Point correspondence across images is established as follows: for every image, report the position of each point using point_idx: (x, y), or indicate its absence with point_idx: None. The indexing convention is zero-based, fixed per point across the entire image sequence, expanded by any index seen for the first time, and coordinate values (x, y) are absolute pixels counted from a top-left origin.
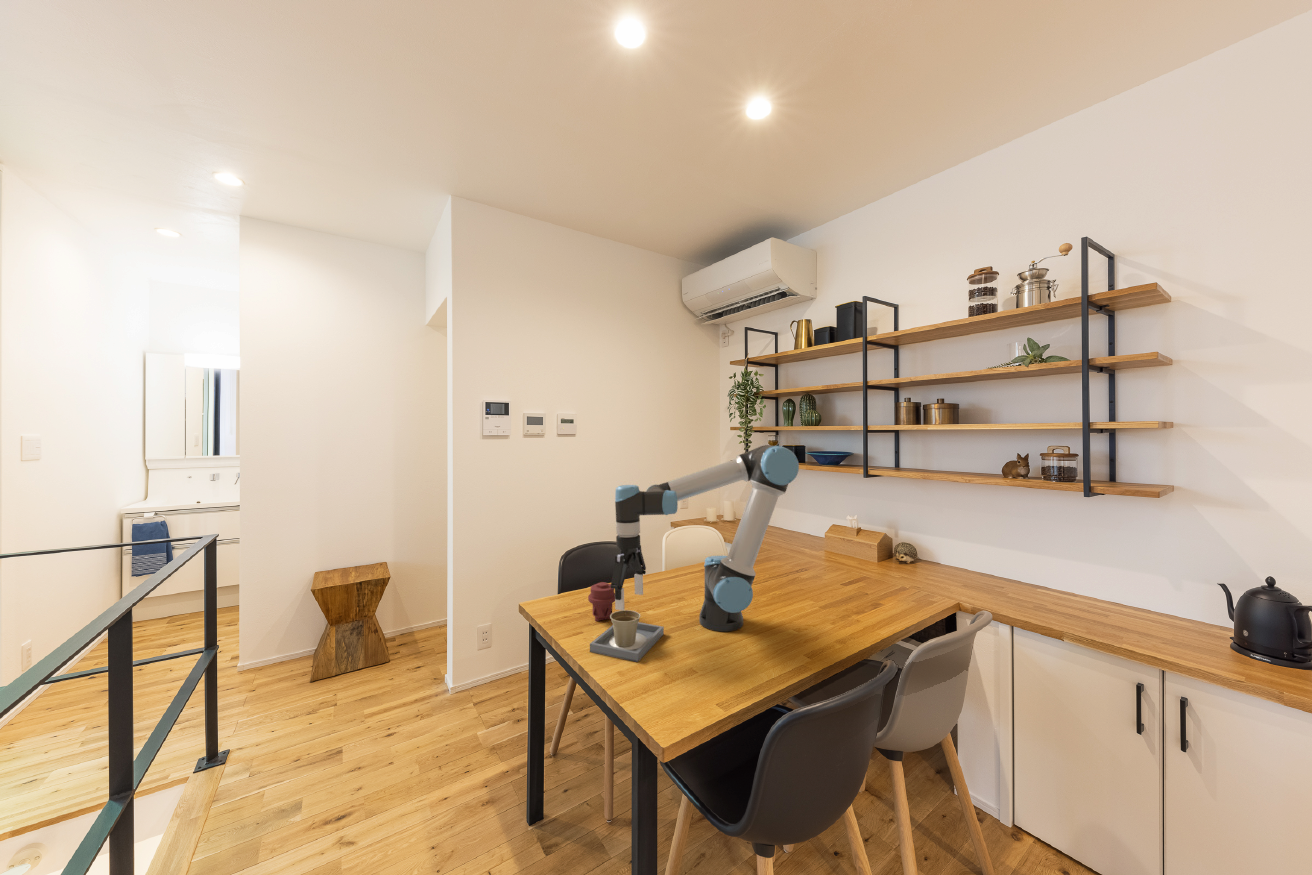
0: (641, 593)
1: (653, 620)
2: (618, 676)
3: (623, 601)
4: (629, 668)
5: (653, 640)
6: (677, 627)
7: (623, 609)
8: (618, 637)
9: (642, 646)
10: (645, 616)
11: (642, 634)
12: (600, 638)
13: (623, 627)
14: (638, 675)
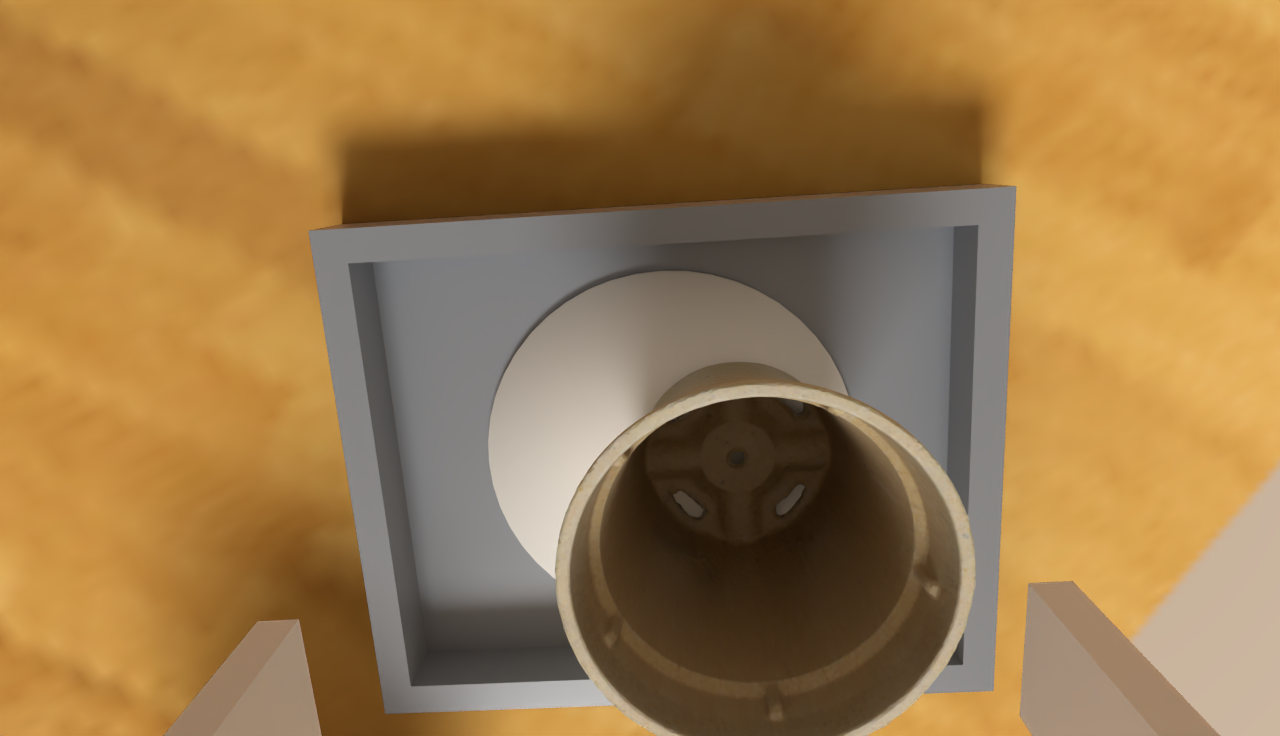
0: (291, 647)
1: (121, 459)
2: (1276, 215)
3: (1142, 675)
4: (1113, 196)
5: (603, 209)
6: (118, 161)
7: (1072, 588)
8: (863, 500)
9: (848, 217)
10: (88, 568)
11: (479, 399)
12: None
13: (903, 488)
14: (1205, 56)
